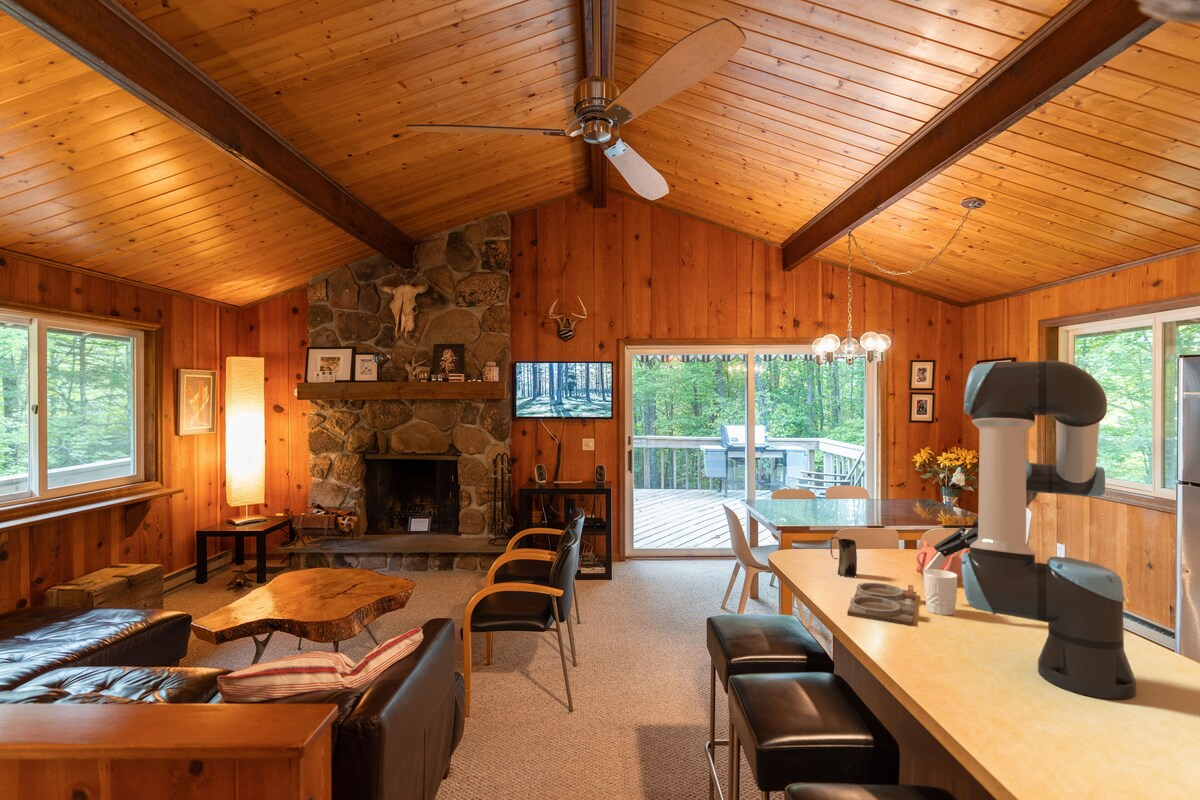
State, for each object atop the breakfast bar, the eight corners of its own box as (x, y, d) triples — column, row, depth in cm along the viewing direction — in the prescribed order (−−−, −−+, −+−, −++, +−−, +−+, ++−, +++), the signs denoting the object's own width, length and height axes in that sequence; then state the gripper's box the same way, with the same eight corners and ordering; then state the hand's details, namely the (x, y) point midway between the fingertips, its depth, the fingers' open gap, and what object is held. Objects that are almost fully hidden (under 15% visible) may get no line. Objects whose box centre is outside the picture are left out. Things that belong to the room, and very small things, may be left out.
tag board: (912, 625, 149) (912, 609, 149) (847, 615, 156) (847, 599, 156) (916, 595, 172) (916, 581, 172) (859, 587, 180) (859, 574, 180)
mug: (853, 572, 195) (853, 535, 195) (859, 577, 189) (859, 539, 189) (828, 572, 196) (828, 535, 196) (833, 577, 190) (832, 539, 190)
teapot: (922, 571, 197) (922, 537, 197) (972, 580, 186) (972, 545, 186) (906, 580, 187) (906, 544, 187) (957, 590, 176) (957, 553, 176)
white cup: (964, 614, 157) (964, 575, 157) (943, 618, 154) (942, 579, 154) (937, 604, 164) (937, 568, 164) (916, 608, 161) (916, 571, 161)
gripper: (1045, 541, 152) (994, 604, 149) (966, 521, 176) (922, 576, 173) (1027, 520, 151) (975, 584, 148) (950, 504, 175) (905, 558, 172)
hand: (946, 580), depth 160 cm, fingers open, 13 cm apart
